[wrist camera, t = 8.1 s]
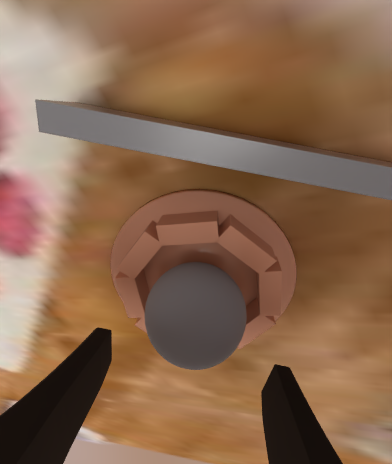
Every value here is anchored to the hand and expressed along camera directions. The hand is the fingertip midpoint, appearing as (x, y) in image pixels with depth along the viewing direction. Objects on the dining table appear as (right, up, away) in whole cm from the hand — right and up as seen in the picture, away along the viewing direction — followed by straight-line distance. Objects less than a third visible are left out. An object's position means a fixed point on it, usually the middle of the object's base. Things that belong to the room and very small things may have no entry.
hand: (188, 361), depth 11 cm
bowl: (+1, +3, +6) cm, 6 cm away
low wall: (+2, +10, +2) cm, 11 cm away
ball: (0, +1, +3) cm, 3 cm away
